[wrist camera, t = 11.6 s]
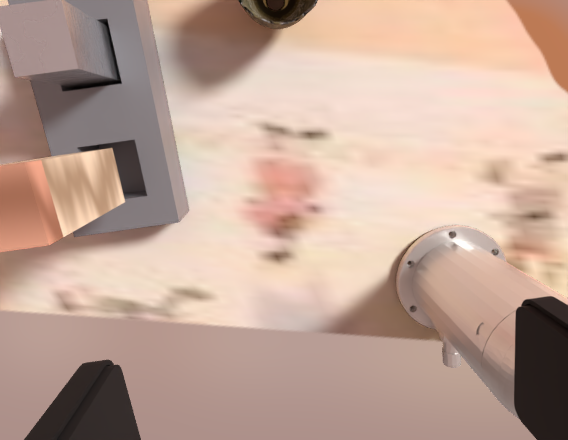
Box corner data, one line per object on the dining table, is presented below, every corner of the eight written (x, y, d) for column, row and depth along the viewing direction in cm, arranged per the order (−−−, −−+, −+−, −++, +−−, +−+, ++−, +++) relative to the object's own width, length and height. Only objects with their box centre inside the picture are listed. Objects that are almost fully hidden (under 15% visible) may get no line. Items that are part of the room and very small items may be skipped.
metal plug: (133, 84, 38) (78, 68, 27) (88, 90, 38) (14, 77, 27) (122, 35, 37) (60, -2, 26) (76, 42, 37) (-6, 7, 26)
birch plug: (125, 202, 32) (49, 245, 21) (71, 209, 32) (-34, 257, 21) (112, 147, 31) (24, 162, 19) (56, 155, 31) (-64, 174, 19)
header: (189, 210, 42) (179, 222, 37) (96, 223, 42) (74, 236, 37) (146, -5, 36) (127, -25, 32) (40, 9, 36) (5, -9, 32)
